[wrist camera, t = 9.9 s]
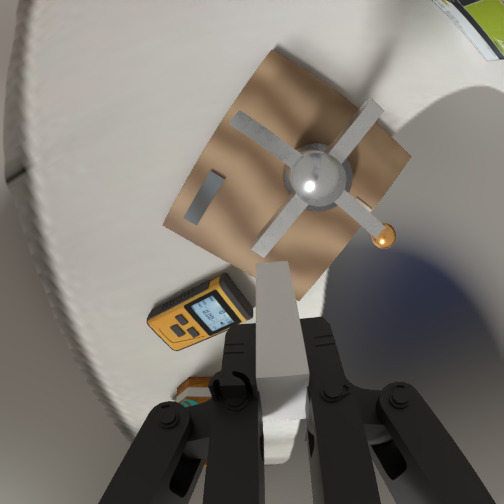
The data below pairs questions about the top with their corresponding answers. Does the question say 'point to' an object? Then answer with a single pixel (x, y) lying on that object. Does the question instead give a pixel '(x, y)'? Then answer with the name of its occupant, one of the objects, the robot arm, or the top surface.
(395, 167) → the wooden board
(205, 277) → the top surface
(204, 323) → the electronic device
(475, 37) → the tea box
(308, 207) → the capstan
